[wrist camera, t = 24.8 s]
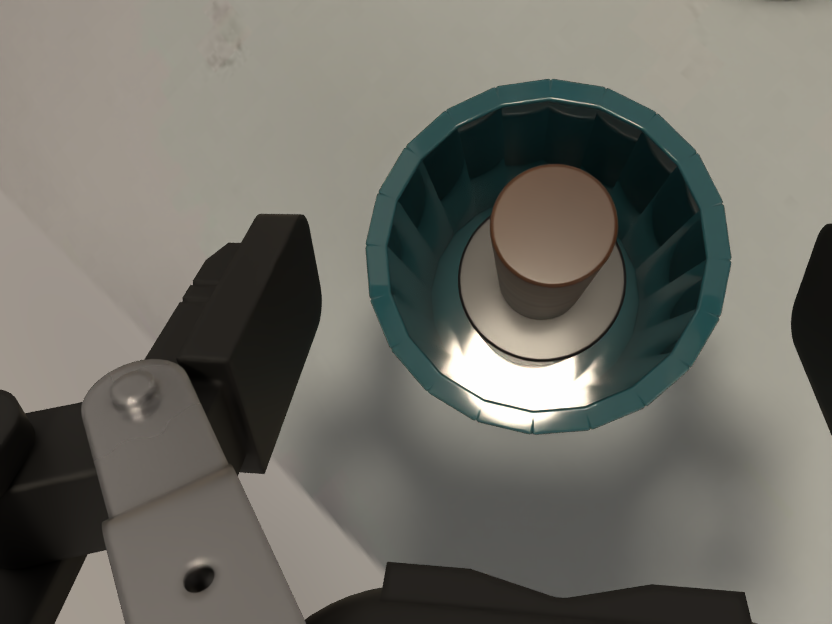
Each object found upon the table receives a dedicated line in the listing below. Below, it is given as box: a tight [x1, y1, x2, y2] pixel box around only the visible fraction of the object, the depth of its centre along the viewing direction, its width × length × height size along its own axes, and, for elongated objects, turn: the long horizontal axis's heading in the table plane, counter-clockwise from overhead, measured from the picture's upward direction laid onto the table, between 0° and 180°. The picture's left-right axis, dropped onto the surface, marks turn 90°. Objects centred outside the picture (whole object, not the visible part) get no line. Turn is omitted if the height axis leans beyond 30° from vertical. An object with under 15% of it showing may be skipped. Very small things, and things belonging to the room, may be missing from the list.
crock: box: [365, 79, 731, 435], centre depth 19 cm, size 8×8×9 cm
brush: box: [458, 164, 626, 366], centre depth 18 cm, size 4×4×11 cm
